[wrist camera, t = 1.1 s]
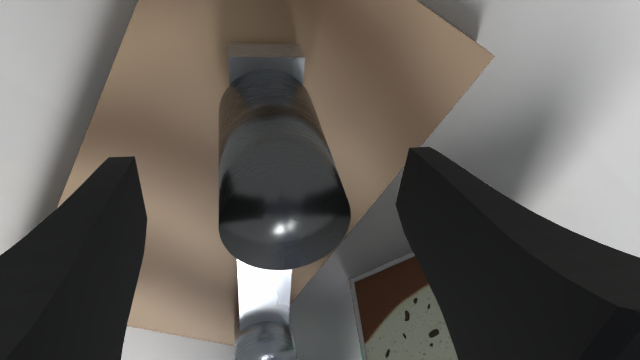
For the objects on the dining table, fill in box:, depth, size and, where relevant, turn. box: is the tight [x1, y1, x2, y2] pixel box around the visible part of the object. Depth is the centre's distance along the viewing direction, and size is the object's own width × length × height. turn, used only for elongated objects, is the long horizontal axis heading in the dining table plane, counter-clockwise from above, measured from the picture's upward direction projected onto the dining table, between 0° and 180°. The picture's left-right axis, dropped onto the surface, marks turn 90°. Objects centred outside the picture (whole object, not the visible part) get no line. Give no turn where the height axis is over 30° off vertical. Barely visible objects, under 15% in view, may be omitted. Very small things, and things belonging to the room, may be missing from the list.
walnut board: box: [57, 0, 495, 346], centre depth 19 cm, size 20×12×2 cm, turn 147°
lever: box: [219, 43, 351, 360], centre depth 17 cm, size 16×3×7 cm, turn 175°
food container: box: [349, 252, 458, 360], centre depth 23 cm, size 12×6×10 cm, turn 114°
